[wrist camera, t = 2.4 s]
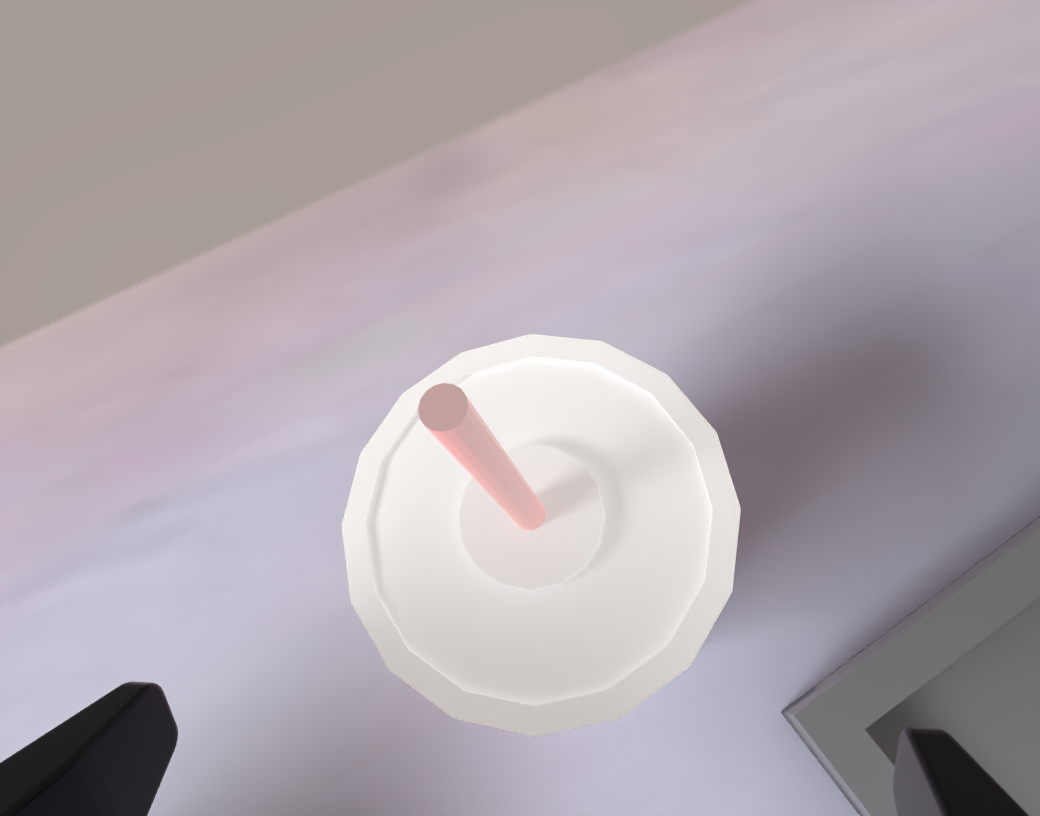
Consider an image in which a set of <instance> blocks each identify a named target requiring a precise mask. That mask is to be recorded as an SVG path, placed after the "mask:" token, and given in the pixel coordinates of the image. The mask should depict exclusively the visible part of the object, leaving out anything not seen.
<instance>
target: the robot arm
mask: <svg viewBox="0 0 1040 816" xmlns="http://www.w3.org/2000/svg"><path fill="white" fill-rule="evenodd" d="M177 737H178V729H177V725H176V722H175V720H174V717H173V715H172V712H171V710H170V707H169V704H168V702H167V699H166V697H165V694H164V692H163V690H162V688H161V687H160V686H159V685H157V684H155V683H147V682H127V683H125V684H122V685H121V686H119V687H117V688H116V689H114V690H113V691H111V692H110V693H108V694H106V695H105V696H103V697H102V698H100V699H99V700H97V701H96V702H94V703H93V704H91V705H89V706H88V707H86V708H85V709H83V710H82V711H80V712H79V713H77V714H75V715H74V716H72V717H71V718H69V719H68V720H66V721H65V722H63V723H62V724H60V725H58V726H57V727H55V728H54V729H52V730H51V731H49V732H48V733H46V734H44V735H43V736H41V737H40V738H38V739H37V740H35V741H34V742H32V743H31V744H29V745H27V746H26V747H24V748H23V749H21V750H20V751H18V752H17V753H15V754H14V755H12V756H10V757H9V758H7V759H6V760H4V761H3V762H1V763H0V816H147V815H148V812H149V810H150V808H151V805H152V803H153V800H154V798H155V795H156V793H157V791H158V788H159V786H160V783H161V781H162V779H163V776H164V774H165V771H166V769H167V767H168V764H169V762H170V759H171V757H172V755H173V752H174V750H175V747H176V743H177ZM893 793H894V800H895V806H896V811H897V815H898V816H1029V815H1028V814H1027V813H1026V812H1025V811H1024V810H1023V809H1022V808H1021V807H1020V806H1019V805H1018V804H1017V803H1016V802H1015V801H1014V800H1013V798H1012V797H1011V796H1010V795H1009V794H1008V793H1007V792H1006V791H1005V790H1004V789H1003V788H1002V787H1001V786H1000V785H999V784H998V783H997V782H996V781H995V780H994V779H993V778H992V777H991V776H990V775H989V774H988V773H987V772H986V771H985V770H984V769H983V768H982V767H981V766H980V765H979V764H978V763H977V762H976V761H975V760H974V758H973V757H972V756H971V755H970V754H969V753H968V752H967V751H966V750H965V749H964V748H963V747H962V746H961V745H960V744H959V743H958V742H957V741H956V740H955V739H954V738H953V737H952V736H951V735H950V734H949V733H947V732H946V731H944V730H942V729H938V728H923V727H906V728H904V729H903V731H902V733H901V735H900V740H899V746H898V752H897V758H896V763H895V769H894V775H893Z"/></svg>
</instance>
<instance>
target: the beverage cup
mask: <svg viewBox="0 0 1040 816" xmlns="http://www.w3.org/2000/svg"><path fill="white" fill-rule="evenodd" d="M740 512H741V507H740V504H739V501H738V498H737V495H736V492H735V488H734V485H733V482H732V479H731V476H730V473H729V469H728V466H727V463H726V460H725V457H724V454H723V450H722V447H721V444H720V441H719V438H718V435H717V432H716V431H715V430H714V429H713V428H712V426H711V425H710V424H709V423H708V422H707V421H706V419H705V418H704V417H703V416H702V415H701V414H700V412H699V411H698V410H697V409H696V408H695V406H694V405H693V404H692V403H691V402H690V401H689V399H688V398H687V397H686V396H685V395H684V394H683V392H682V391H681V390H680V389H679V388H678V387H677V385H676V384H675V383H674V382H673V381H672V380H671V378H670V377H669V376H668V375H667V374H665V373H663V372H661V371H659V370H657V369H655V368H653V367H651V366H649V365H647V364H645V363H643V362H641V361H640V360H638V359H636V358H634V357H632V356H630V355H628V354H626V353H624V352H622V351H620V350H618V349H616V348H614V347H612V346H610V345H608V344H606V343H604V342H602V341H594V340H584V339H574V338H564V337H554V336H544V335H534V334H529V335H525V336H521V337H518V338H514V339H510V340H506V341H503V342H499V343H495V344H491V345H488V346H484V347H480V348H476V349H473V350H469V351H465V352H461V353H460V354H458V355H457V356H456V357H454V358H453V359H451V360H450V361H448V362H447V363H446V364H444V365H443V366H441V367H440V368H438V369H437V370H436V371H434V372H433V373H431V374H430V375H428V376H427V377H426V378H424V379H423V380H421V381H420V382H418V383H417V384H416V385H414V386H413V387H411V388H410V389H409V390H407V391H406V392H404V393H403V394H402V395H401V396H400V398H399V399H398V401H397V402H396V404H395V405H394V406H393V408H392V409H391V411H390V412H389V414H388V415H387V416H386V418H385V419H384V421H383V422H382V424H381V425H380V426H379V428H378V429H377V431H376V432H375V434H374V435H373V436H372V438H371V439H370V441H369V442H368V444H367V445H366V446H365V448H364V449H363V451H362V452H361V454H360V457H359V461H358V465H357V469H356V472H355V476H354V480H353V484H352V488H351V492H350V496H349V499H348V503H347V507H346V511H345V515H344V519H343V522H342V533H343V542H344V550H345V559H346V567H347V576H348V584H349V592H350V601H351V603H352V605H353V607H354V608H355V610H356V612H357V614H358V616H359V617H360V619H361V621H362V623H363V625H364V626H365V628H366V630H367V632H368V633H369V635H370V637H371V639H372V641H373V642H374V644H375V646H376V648H377V650H378V651H379V653H380V655H381V657H382V658H383V660H384V662H385V664H386V666H387V667H388V669H389V670H390V671H391V672H392V673H394V674H395V675H396V676H398V677H399V678H400V679H402V680H403V681H404V682H406V683H407V684H408V685H410V686H411V687H412V688H414V689H415V690H416V691H418V692H419V693H420V694H422V695H423V696H424V697H426V698H427V699H428V700H430V701H431V702H432V703H433V704H435V705H436V706H437V707H439V708H440V709H441V710H443V711H444V712H445V713H447V714H448V715H449V716H451V717H452V718H453V719H458V720H462V721H467V722H471V723H476V724H480V725H485V726H489V727H494V728H498V729H503V730H507V731H511V732H516V733H520V734H525V735H529V736H534V737H537V736H541V735H546V734H551V733H555V732H560V731H565V730H569V729H574V728H579V727H583V726H588V725H593V724H597V723H602V722H607V721H611V720H616V719H620V718H621V717H623V716H624V715H625V714H627V713H628V712H629V711H631V710H632V709H633V708H635V707H636V706H638V705H639V704H640V703H642V702H643V701H644V700H646V699H647V698H648V697H650V696H651V695H652V694H654V693H655V692H656V691H658V690H659V689H660V688H662V687H663V686H665V685H666V684H667V683H669V682H670V681H671V680H673V679H674V678H675V677H677V676H678V675H679V674H681V673H682V672H683V671H685V670H686V669H687V668H689V667H690V666H691V664H692V662H693V660H694V659H695V657H696V655H697V653H698V652H699V650H700V648H701V646H702V644H703V643H704V641H705V639H706V637H707V636H708V634H709V632H710V630H711V629H712V627H713V625H714V623H715V622H716V620H717V618H718V616H719V614H720V613H721V611H722V609H723V607H724V606H725V604H726V602H727V600H728V599H729V597H730V595H731V593H732V591H733V581H734V571H735V562H736V552H737V542H738V532H739V522H740Z"/></svg>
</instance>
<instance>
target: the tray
mask: <svg viewBox="0 0 1040 816" xmlns="http://www.w3.org/2000/svg"><path fill="white" fill-rule="evenodd" d="M781 713H782V714H783V715H784V717H785V718H786V719H787V721H788V722H789V723H790V725H791V726H792V727H793V728H794V730H795V731H796V732H797V734H798V735H799V736H800V738H801V739H802V740H803V742H804V743H805V744H806V745H807V747H808V748H809V749H810V751H811V752H812V753H813V755H814V756H815V757H816V759H817V760H818V761H819V763H820V764H821V765H822V766H823V768H824V769H825V770H826V772H827V773H828V774H829V776H830V777H831V778H832V780H833V781H834V782H835V783H836V785H837V786H838V787H839V789H840V790H841V791H842V793H843V794H844V795H845V797H846V798H847V799H848V801H849V802H850V803H851V804H852V806H853V807H854V808H855V810H856V811H857V812H858V814H859V815H860V816H898V815H897V811H896V806H895V800H894V793H893V775H894V769H895V763H896V758H897V752H898V746H899V740H900V735H901V733H902V731H903V729H904V728H906V727H923V728H938V729H942V730H944V731H946V732H947V733H949V734H950V735H951V736H952V737H953V738H954V739H955V740H956V741H957V742H958V743H959V744H960V745H961V746H962V747H963V748H964V749H965V750H966V751H967V752H968V753H969V754H970V755H971V756H972V757H973V758H974V760H975V761H976V762H977V763H978V764H979V765H980V766H981V767H982V768H983V769H984V770H985V771H986V772H987V773H988V774H989V775H990V776H991V777H992V778H993V779H994V780H995V781H996V782H997V783H998V784H999V785H1000V786H1001V787H1002V788H1003V789H1004V790H1005V791H1006V792H1007V793H1008V794H1009V795H1010V796H1011V797H1012V798H1013V800H1014V801H1015V802H1016V803H1017V804H1018V805H1019V806H1020V807H1021V808H1022V809H1023V810H1024V811H1025V812H1026V813H1027V814H1028V815H1029V816H1040V517H1039V518H1037V519H1036V520H1035V521H1034V522H1032V523H1031V524H1030V525H1028V526H1027V527H1026V528H1024V529H1023V530H1022V531H1020V532H1019V533H1018V534H1016V535H1015V536H1014V537H1012V538H1011V539H1010V540H1008V541H1007V542H1006V543H1004V544H1003V545H1002V546H1000V547H999V548H998V549H996V550H995V551H994V552H992V553H991V554H990V555H988V556H987V557H986V558H984V559H983V560H982V561H980V562H979V563H978V564H976V565H975V566H974V567H972V568H971V569H970V570H968V571H967V572H966V573H965V574H963V575H962V576H961V577H959V578H958V579H957V580H955V581H954V582H953V583H951V584H950V585H949V586H947V587H946V588H945V589H943V590H942V591H941V592H939V593H938V594H937V595H935V596H934V597H933V598H931V599H930V600H929V601H927V602H926V603H925V604H923V605H922V606H921V607H919V608H918V609H917V610H915V611H914V612H913V613H911V614H910V615H909V616H907V617H906V618H905V619H903V620H902V621H901V622H899V623H898V624H897V625H896V626H894V627H893V628H892V629H890V630H889V631H888V632H886V633H885V634H884V635H882V636H881V637H880V638H878V639H877V640H876V641H874V642H873V643H872V644H870V645H869V646H868V647H866V648H865V649H864V650H862V651H861V652H860V653H858V654H857V655H856V656H854V657H853V658H852V659H850V660H849V661H848V662H846V663H845V664H844V665H842V666H841V667H840V668H838V669H837V670H836V671H834V672H833V673H832V674H830V675H829V676H828V677H826V678H825V679H824V680H823V681H821V682H820V683H819V684H817V685H816V686H815V687H813V688H812V689H811V690H809V691H808V692H807V693H805V694H804V695H803V696H801V697H800V698H799V699H797V700H796V701H795V702H793V703H792V704H791V705H789V706H788V707H787V708H785V709H784V710H783V711H781Z"/></svg>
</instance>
